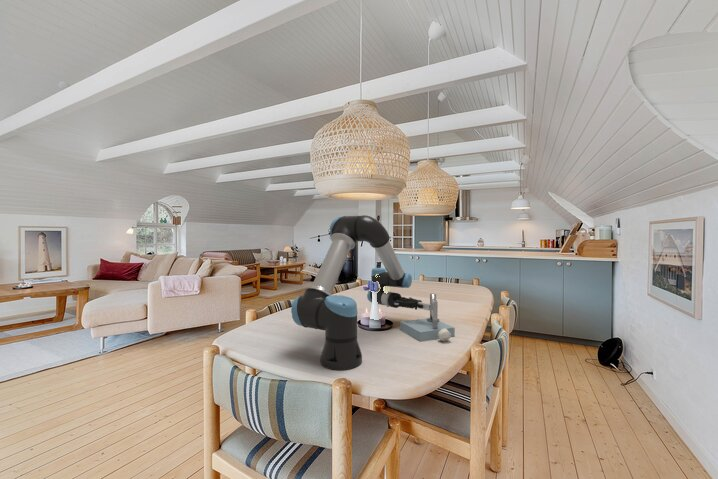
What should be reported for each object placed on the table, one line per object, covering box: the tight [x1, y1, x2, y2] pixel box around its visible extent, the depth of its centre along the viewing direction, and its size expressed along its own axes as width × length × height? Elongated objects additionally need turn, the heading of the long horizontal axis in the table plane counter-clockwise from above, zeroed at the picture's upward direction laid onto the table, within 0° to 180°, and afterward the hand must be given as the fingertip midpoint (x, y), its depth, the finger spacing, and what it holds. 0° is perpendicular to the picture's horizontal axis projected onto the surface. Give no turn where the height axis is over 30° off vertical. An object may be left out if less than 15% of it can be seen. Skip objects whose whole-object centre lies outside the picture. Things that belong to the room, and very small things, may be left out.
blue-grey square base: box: [399, 317, 456, 342], centre depth 145 cm, size 18×18×5 cm
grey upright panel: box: [429, 293, 439, 328], centre depth 145 cm, size 3×16×12 cm, turn 170°
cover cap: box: [438, 328, 452, 342], centre depth 133 cm, size 5×5×2 cm
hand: (430, 307), depth 144 cm, fingers closed
